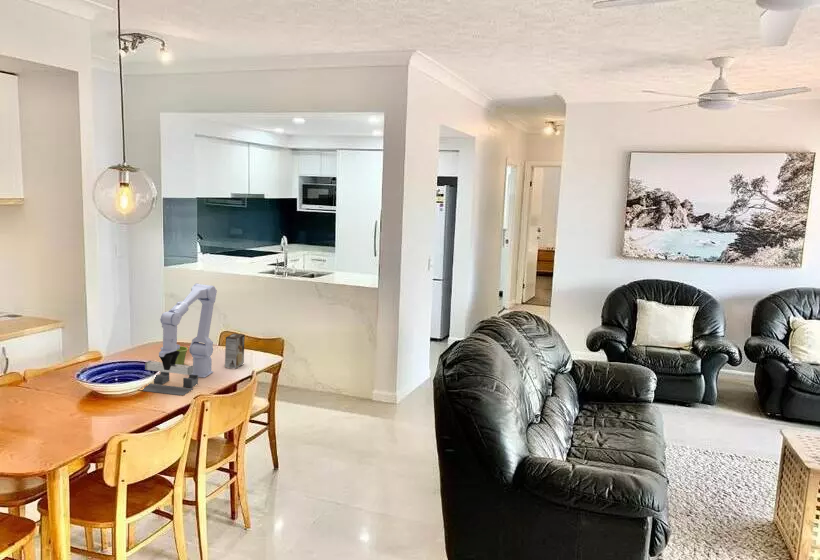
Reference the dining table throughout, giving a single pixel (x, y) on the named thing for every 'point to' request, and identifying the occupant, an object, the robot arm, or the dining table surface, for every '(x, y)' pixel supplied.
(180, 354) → the plant pot
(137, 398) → the dining table surface
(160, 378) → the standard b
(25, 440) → the dining table surface
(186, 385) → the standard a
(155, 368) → the rail
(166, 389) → the mat
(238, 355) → the coffee box
